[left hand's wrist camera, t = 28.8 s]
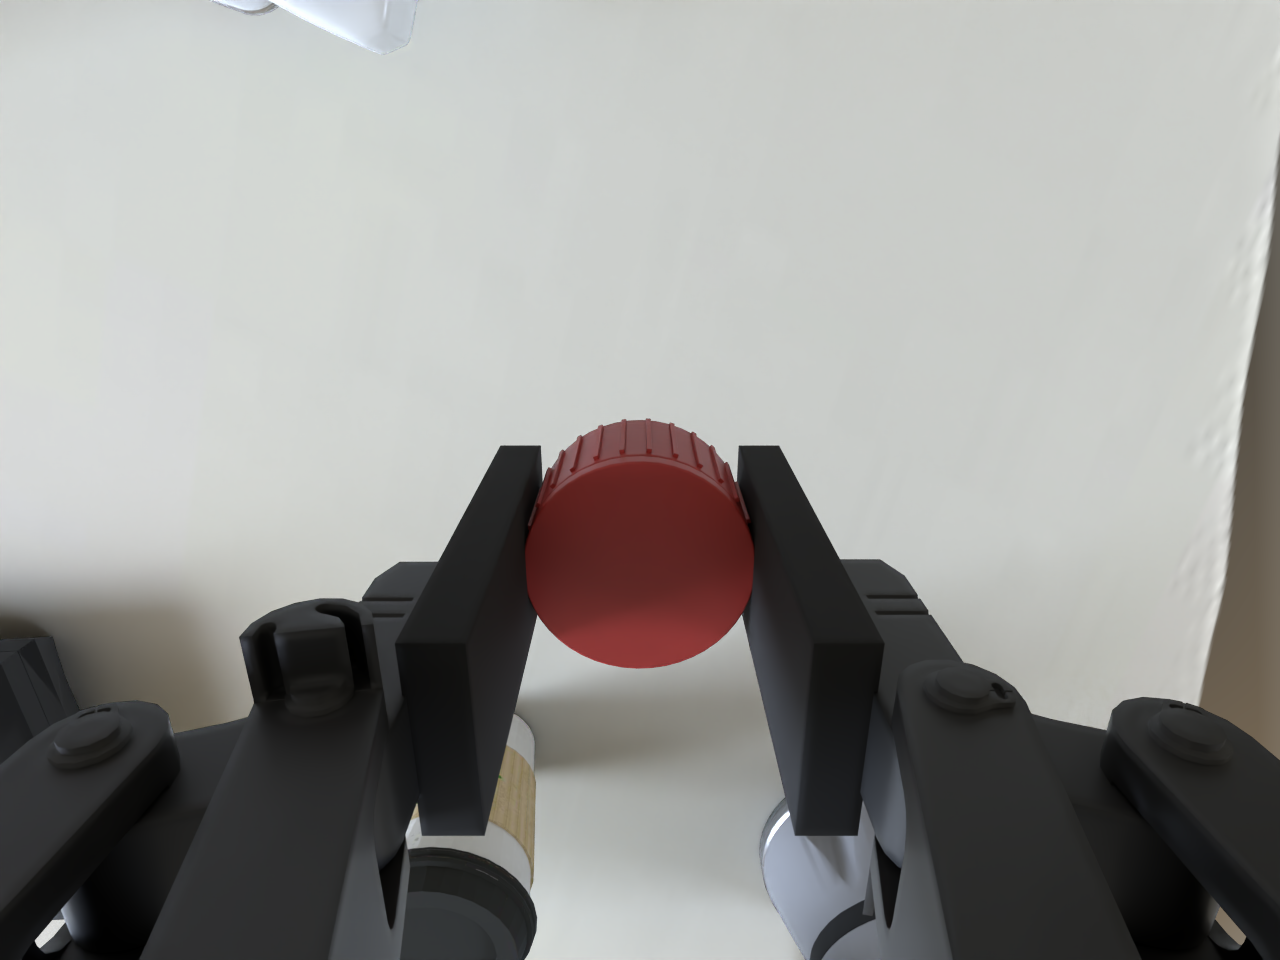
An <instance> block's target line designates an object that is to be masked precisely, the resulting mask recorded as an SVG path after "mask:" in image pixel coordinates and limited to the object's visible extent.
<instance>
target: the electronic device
mask: <svg viewBox="0 0 1280 960" xmlns="http://www.w3.org/2000/svg"><path fill="white" fill-rule="evenodd" d="M79 711H80V710H79V708H78V706H77V703H76V701H75V699H74V696H73V694H72V692H71V689H70V687H69V685H68V682H67V680H66V678H65V675H64V672H63V669H62V666H61V663H60V660H59V657H58V654H57V651H56V647H55V644H54V640H53V637H35V638H17V639H0V765H1V764H2V763H3V762H4V761H5V760H6V759H8V758H9V757H10V756H11V755H12V754H14V753H15V752H16V751H17V750H18V749H19V748H21V747H22V746H23V745H24V744H25V743H26V742H28V741H29V740H30V739H32V738H33V737H35V736H36V735H38V734H39V733H41V732H42V731H44V730H45V729H46V728H48V727H49V726H51V725H52V724H54V723H56V722H58V721H61V720H63V719H65V718H67V717H69V716H72V715H74V714H76V713H77V712H79ZM60 919H64V917H63V914H62V912H61V910H60V911H59V913H58V914H57V915H56V916H55V917H54V918H53V920H60Z"/></svg>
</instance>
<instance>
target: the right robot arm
mask: <svg viewBox="0 0 1280 960" xmlns="http://www.w3.org/2000/svg"><path fill="white" fill-rule="evenodd" d="M209 1H211V2H214V3H217V4H219V5H222V6H225V7H228V8H230V9H233V10H236V11H239V12H241V13H244V14H248V15H263V14H267V13H269V12H272V11H274V10H275V9H276V8H278V7H279V6H280V7H282V8H283V9H285V10H287V11H289V12H291V13H292V14H294V15H296V16H298V17H300V18H302V19H304V20H305V21H307V22H309V23H311V24H313V25H315V26H317V27H319V28H321V29H324V30H326V31H328V32H330V33H332V34H334V35H336V36H338V37H341V38H343V39H345V40H348V41H350V42H352V43H354V44H357V45H359V46H361V47H364V48H366V49H368V50H371V51H373V52H376V53H379V54H383V55H384V54H388V53H390V52H393V51H395V50H397V49H399V48H401V47H403V46H405V45H407V44H408V43H409V41H410V38H411V34H412V29H413V24H414V18H415V13H416V8H417V3H418V0H209Z"/></svg>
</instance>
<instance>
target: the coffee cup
mask: <svg viewBox="0 0 1280 960" xmlns="http://www.w3.org/2000/svg"><path fill="white" fill-rule="evenodd" d="M534 753H535V741H534V736H533V734H532V732H531V730H530V728H529V727H528V725H527V724H526V723H525V722H524V721H523V720H522V719H521V718H520V717H519V716H517V715H515V714H514V715H513V719H512V723H511V728H510V732H509V736H508V740H507V744H506V749H505V753H504V757H503V761H502V765H501V770H500V774H499V778H498V782H497V786H496V791H495V795H494V799H493V803H492V807H491V811H490V816H489V820H488V824H487V828H486V832H485V836H422V834H421V827H420V820H419V812H418V805H417V804H416V807H415V809H414V812H413V815H412V818H411V820H410V823H409V826H408V829H407V832H406V834H405V835H406V841H407V848H408V855H409V862H410V873H409V882H408V891H407V900H406V909H405V918H404V927H403V936H402V945H401V954H400V960H524V959H525V958H526V956H527V955H528V953H529V951H530V948H531V946H532V943H533V940H534V937H535V934H536V928H537V915H536V911H535V907H534V903H533V901H532V899H531V897H530V890H531V887H532V884H533V874H534V835H535V791H536V782H535V777H534Z"/></svg>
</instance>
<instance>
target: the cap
mask: <svg viewBox="0 0 1280 960" xmlns="http://www.w3.org/2000/svg"><path fill="white" fill-rule="evenodd" d="M748 523H751V521H750V518H749V515H748V512H747V508H746V505H745V502H744V499H743V496H742V493H741V490H740V487H739V484H738V482H734V479H733V476H732V473H731V470H730V467H729V464H728V463H727V462H726V463H724V462H723V460H722V459H721V458H720V457H719V456H718V455H717V453H716V451H715V448H714V447H713V446H712V445H711V446H708V445H707V444H706V443H705V442H704V441H702V440H701V439H699V438H698V437H697V436H696V433H694V432H692V433H689V432H687V431H685V430H683V429H681V428H678V427H676V426H674V424H673V423H670V424H666V423H661V422H657V421H651V419H646V420H633V421H626V419H623V420H622V421H621V422H617V423H613V424H610V425H606V426H603V425H600V426H598V429H596V430H594V431H591V432H589V433H588V434H586V435H584V436H583V437H582V436H581V435H580V436H578V437H577V441H575V442H574V443H573V444H572V445H571V446H569V447H568V448H567V449H566V450H565V451H564V450H562V451H561V452H560V454H559V457H558V459H557V461H556V462H555V464H554V465H553V467H552V468H548V469H547V471H546V474H545V477H544V480H543V484H542V487H540V490H539V493H538V496H537V499H536V502H535V505H534V508H533V511H532V514H531V517H530V520H529V523H528V530H529V533H528V536H527V539H526V543H525V560H526V576H527V591H528V596H529V598H530V601H531V603H532V606H533V608H534V609H535V611H536V613H537V614H538V616H539V618H540V619H541V621H542V622H543V623H544V624H545V626H546V627H547V628H548V629H549V631H551V632H552V633H553V634H554V635H555V636H556V637H557V638H558V639H559V640H560V641H561V642H563V643H564V644H565V645H567V646H568V647H569V648H571V649H573V650H574V651H576V652H578V653H579V654H581V655H583V656H586V657H588V658H590V659H592V660H595V661H598V662H601V663H604V664H608V665H612V666H618V667H624V668H654V667H661V666H667V665H671V664H675V663H678V662H681V661H684V660H686V659H689V658H692V657H694V656H696V655H697V654H699V653H701V652H703V651H705V650H706V649H708V648H709V647H711V646H712V645H714V644H715V643H717V642H718V641H719V640H720V639H721V638H722V637H723V636H724V635H726V634H727V633H728V631H729V630H730V629H731V628H732V627H733V626H734V625H735V623H736V622H737V620H738V619H739V617H740V616H741V614H742V613H743V611H744V609H745V607H746V605H747V603H748V601H749V599H750V596H751V593H752V584H753V568H754V543H753V540H752V536H751V533H750V530H749V527H748Z"/></svg>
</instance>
